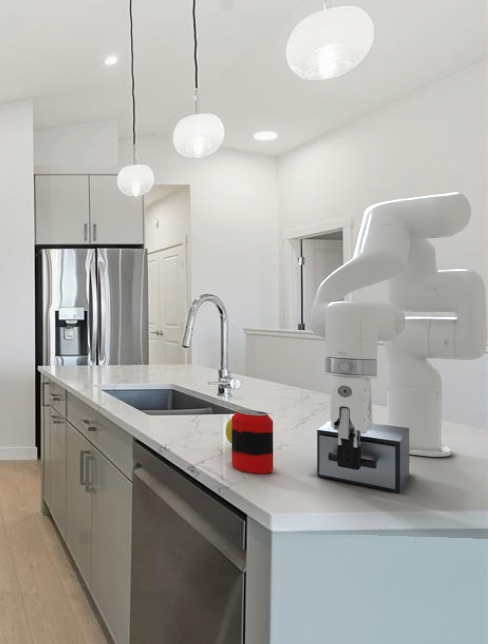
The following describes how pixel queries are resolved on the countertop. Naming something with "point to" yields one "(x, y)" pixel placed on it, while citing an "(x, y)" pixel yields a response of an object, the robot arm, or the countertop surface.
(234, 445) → the soda can
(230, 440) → the lemon
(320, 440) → the drawer
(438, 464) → the countertop surface
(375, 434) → the cabinet
